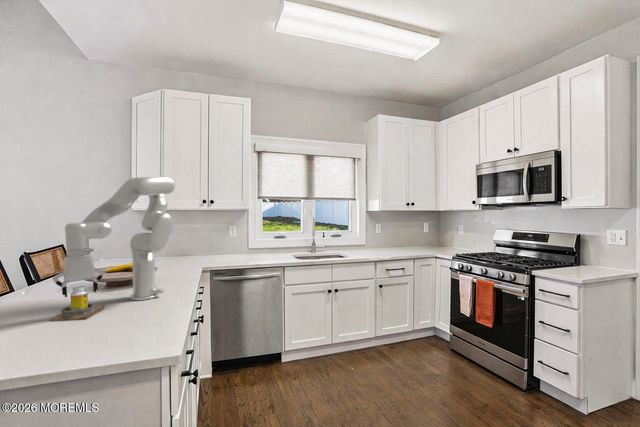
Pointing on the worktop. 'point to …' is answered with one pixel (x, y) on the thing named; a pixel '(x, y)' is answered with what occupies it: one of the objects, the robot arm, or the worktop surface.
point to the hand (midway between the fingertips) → (80, 294)
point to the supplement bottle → (79, 299)
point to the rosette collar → (77, 313)
